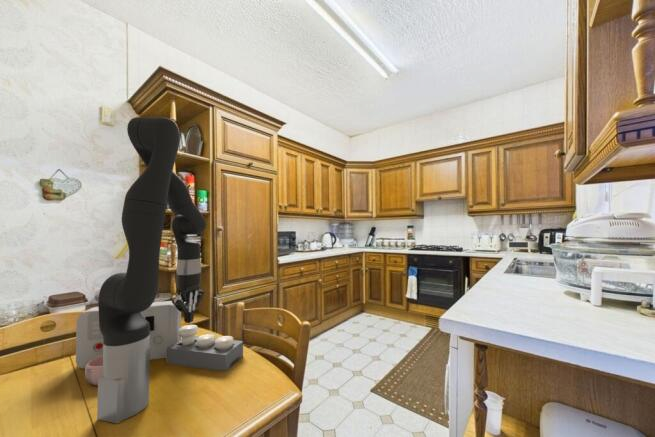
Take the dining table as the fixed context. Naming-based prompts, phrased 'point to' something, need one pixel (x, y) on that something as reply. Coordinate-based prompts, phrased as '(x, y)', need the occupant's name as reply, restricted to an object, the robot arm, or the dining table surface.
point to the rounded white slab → (158, 315)
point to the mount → (204, 355)
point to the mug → (94, 370)
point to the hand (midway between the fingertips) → (189, 321)
